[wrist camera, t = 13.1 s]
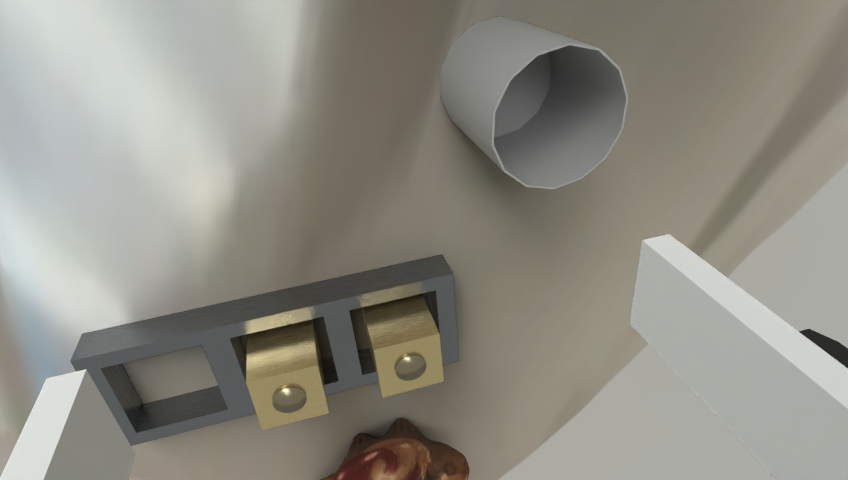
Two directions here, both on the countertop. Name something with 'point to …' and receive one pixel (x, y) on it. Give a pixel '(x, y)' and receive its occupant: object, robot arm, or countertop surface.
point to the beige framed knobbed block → (403, 344)
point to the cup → (534, 100)
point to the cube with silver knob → (285, 374)
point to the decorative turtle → (401, 457)
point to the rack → (249, 315)
